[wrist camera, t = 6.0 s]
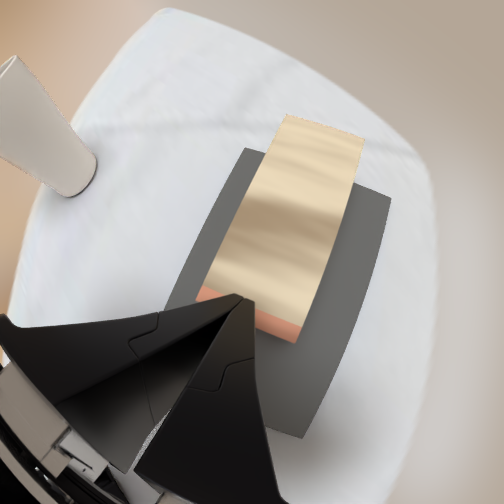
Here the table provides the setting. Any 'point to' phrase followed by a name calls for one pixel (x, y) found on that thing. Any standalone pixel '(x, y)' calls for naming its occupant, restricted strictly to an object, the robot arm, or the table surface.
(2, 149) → the drinking glass
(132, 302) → the table surface
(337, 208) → the block
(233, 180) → the mat
